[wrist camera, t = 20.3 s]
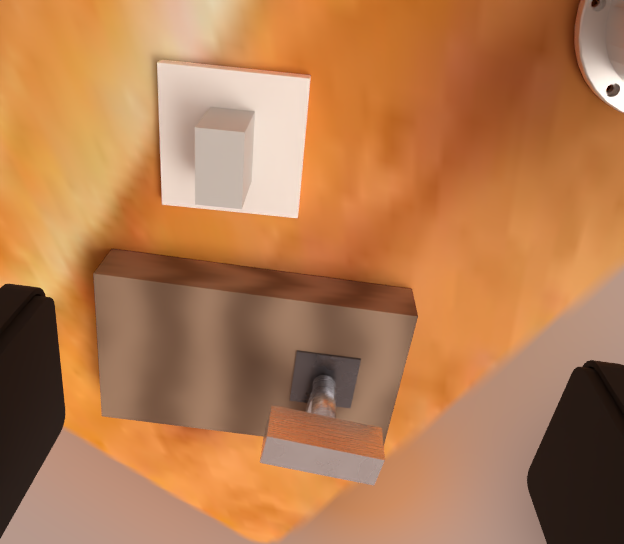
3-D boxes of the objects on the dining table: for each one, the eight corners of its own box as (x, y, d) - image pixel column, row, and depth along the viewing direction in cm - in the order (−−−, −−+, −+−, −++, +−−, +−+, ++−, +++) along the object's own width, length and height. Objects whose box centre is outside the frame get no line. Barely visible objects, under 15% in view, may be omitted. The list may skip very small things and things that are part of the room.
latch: (277, 361, 45) (267, 436, 38) (377, 382, 46) (384, 460, 39) (257, 436, 49) (244, 517, 42) (349, 455, 50) (351, 537, 43)
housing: (411, 288, 47) (418, 317, 43) (379, 418, 54) (382, 452, 50) (111, 248, 46) (92, 274, 43) (117, 385, 53) (101, 417, 49)
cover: (311, 74, 40) (306, 96, 34) (298, 210, 44) (293, 249, 39) (163, 58, 39) (133, 78, 34) (167, 196, 44) (142, 234, 39)
